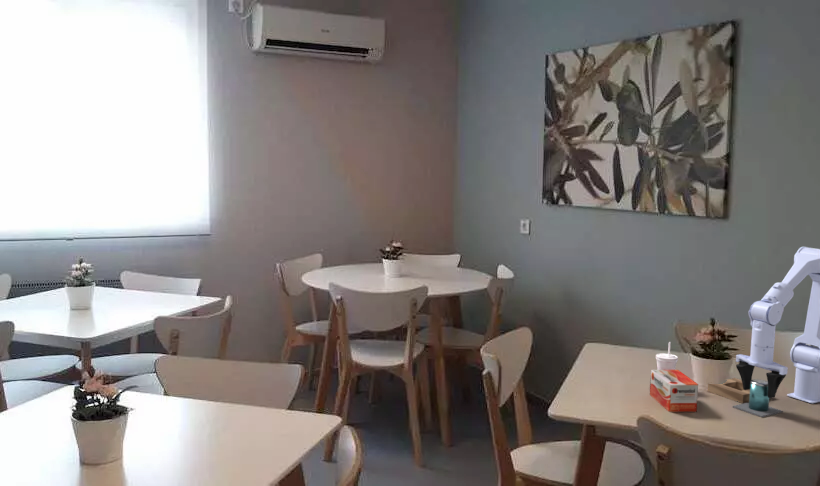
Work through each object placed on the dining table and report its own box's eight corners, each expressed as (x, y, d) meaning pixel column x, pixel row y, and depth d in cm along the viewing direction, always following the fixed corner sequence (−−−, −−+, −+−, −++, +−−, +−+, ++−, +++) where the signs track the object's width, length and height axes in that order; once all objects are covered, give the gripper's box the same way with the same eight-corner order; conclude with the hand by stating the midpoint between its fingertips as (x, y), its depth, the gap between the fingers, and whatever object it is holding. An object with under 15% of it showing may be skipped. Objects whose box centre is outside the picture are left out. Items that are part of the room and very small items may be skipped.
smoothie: (677, 391, 224) (680, 345, 222) (655, 389, 225) (657, 343, 224) (674, 385, 230) (677, 340, 229) (652, 383, 232) (655, 338, 230)
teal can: (754, 404, 212) (756, 378, 212) (771, 409, 208) (773, 382, 208) (745, 407, 209) (746, 381, 209) (762, 412, 205) (764, 385, 205)
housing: (734, 385, 230) (734, 378, 230) (769, 397, 220) (770, 389, 220) (707, 391, 225) (708, 383, 224) (742, 403, 214) (743, 394, 214)
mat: (753, 402, 215) (753, 401, 215) (782, 412, 207) (782, 410, 207) (732, 407, 211) (732, 405, 211) (761, 417, 203) (761, 415, 203)
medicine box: (648, 395, 221) (650, 368, 220) (676, 395, 221) (677, 368, 220) (668, 413, 206) (670, 384, 205) (698, 413, 206) (699, 384, 205)
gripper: (730, 340, 211) (726, 387, 213) (777, 353, 199) (773, 403, 200) (746, 338, 215) (743, 384, 216) (794, 350, 202) (790, 399, 204)
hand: (758, 393), depth 208 cm, fingers open, 7 cm apart
